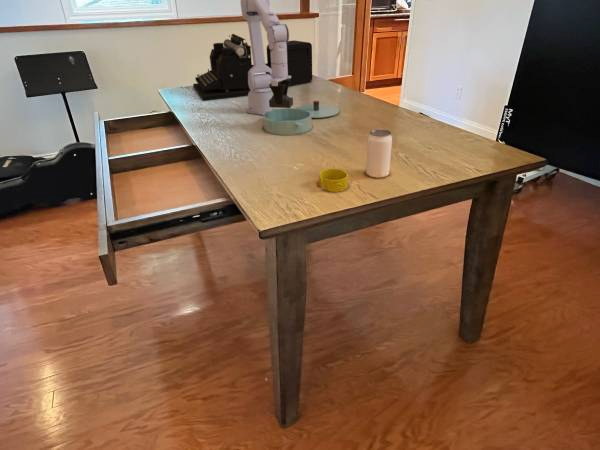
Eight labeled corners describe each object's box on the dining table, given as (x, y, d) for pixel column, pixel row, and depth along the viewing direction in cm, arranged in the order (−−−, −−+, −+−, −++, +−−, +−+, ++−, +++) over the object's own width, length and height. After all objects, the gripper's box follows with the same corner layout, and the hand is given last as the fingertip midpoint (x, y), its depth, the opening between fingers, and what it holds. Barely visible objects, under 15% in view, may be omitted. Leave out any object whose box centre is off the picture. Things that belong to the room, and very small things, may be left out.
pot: (278, 140, 144) (278, 126, 141) (254, 123, 162) (253, 110, 159) (323, 131, 150) (323, 118, 148) (295, 116, 168) (295, 104, 166)
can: (386, 168, 120) (389, 128, 114) (391, 178, 114) (395, 136, 108) (364, 169, 120) (366, 129, 113) (368, 178, 114) (370, 136, 108)
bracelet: (335, 177, 116) (335, 166, 114) (353, 187, 110) (354, 176, 108) (314, 183, 112) (313, 172, 111) (331, 194, 107) (331, 182, 105)
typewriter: (193, 87, 219) (185, 36, 206) (243, 82, 227) (238, 32, 214) (203, 100, 194) (194, 43, 181) (258, 94, 202) (254, 39, 189)
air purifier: (296, 78, 234) (295, 39, 223) (312, 81, 224) (312, 41, 214) (266, 83, 223) (264, 43, 213) (282, 87, 213) (280, 46, 203)
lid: (306, 121, 161) (306, 109, 159) (286, 110, 176) (285, 99, 174) (347, 114, 168) (348, 103, 166) (324, 104, 183) (324, 93, 181)
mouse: (269, 107, 151) (268, 95, 149) (273, 103, 155) (272, 92, 153) (289, 108, 150) (289, 96, 147) (293, 104, 154) (292, 93, 151)
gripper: (284, 66, 138) (286, 107, 145) (295, 59, 150) (296, 97, 157) (264, 66, 139) (267, 107, 146) (276, 59, 151) (278, 97, 158)
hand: (281, 102), depth 152 cm, fingers closed on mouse, 5 cm apart
